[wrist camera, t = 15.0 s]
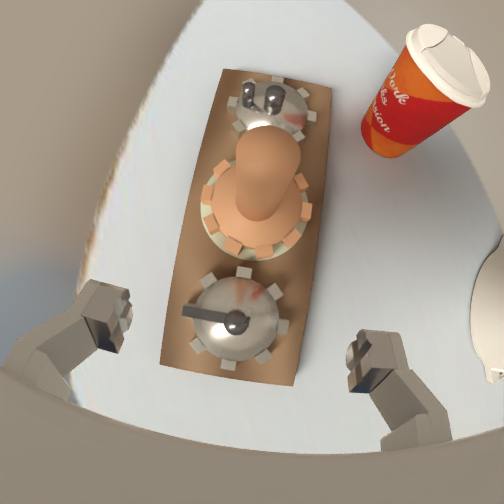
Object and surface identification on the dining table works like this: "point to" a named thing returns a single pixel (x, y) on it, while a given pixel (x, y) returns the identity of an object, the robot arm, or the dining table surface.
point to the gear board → (225, 263)
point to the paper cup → (424, 91)
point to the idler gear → (258, 193)
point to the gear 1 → (271, 108)
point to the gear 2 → (235, 318)
